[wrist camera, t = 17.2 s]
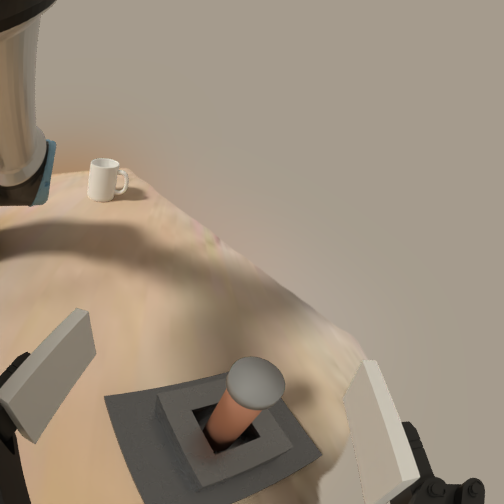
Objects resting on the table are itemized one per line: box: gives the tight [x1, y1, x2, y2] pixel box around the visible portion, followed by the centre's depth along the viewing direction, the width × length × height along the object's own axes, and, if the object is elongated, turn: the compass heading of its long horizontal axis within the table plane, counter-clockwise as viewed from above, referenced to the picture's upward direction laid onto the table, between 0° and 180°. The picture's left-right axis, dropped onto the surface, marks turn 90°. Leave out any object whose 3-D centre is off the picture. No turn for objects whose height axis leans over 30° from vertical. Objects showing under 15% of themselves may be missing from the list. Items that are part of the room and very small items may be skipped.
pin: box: [202, 357, 285, 451], centre depth 26 cm, size 5×5×15 cm
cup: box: [87, 158, 129, 202], centre depth 70 cm, size 8×12×10 cm
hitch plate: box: [104, 372, 322, 504], centre depth 29 cm, size 24×18×6 cm
